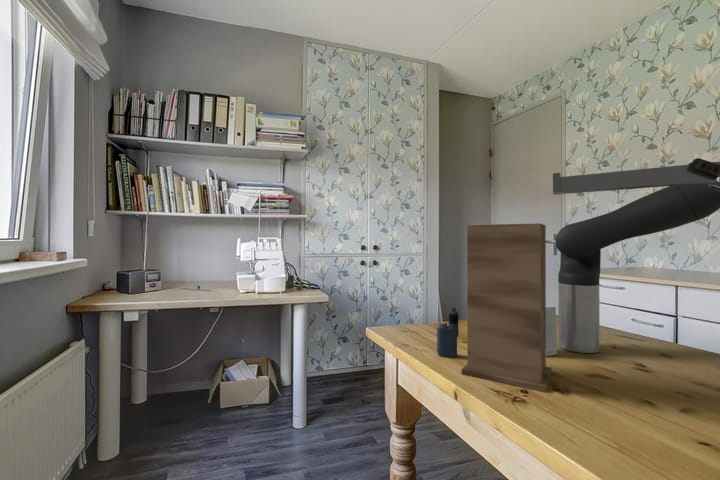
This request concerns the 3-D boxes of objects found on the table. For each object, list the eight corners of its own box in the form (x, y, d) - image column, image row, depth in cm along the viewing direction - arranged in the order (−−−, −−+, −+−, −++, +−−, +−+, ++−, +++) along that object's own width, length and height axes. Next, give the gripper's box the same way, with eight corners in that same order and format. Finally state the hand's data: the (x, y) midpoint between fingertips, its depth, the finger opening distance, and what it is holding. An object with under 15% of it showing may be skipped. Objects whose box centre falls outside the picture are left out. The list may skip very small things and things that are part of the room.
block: (554, 194, 71) (554, 176, 71) (727, 182, 57) (726, 159, 57) (553, 192, 67) (552, 173, 67) (735, 178, 54) (735, 154, 54)
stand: (476, 358, 83) (476, 227, 83) (551, 372, 74) (551, 225, 75) (461, 374, 73) (461, 225, 73) (545, 392, 64) (545, 223, 65)
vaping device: (459, 358, 83) (459, 309, 83) (437, 356, 84) (437, 308, 85) (458, 354, 86) (458, 307, 86) (437, 353, 87) (436, 306, 87)
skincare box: (558, 354, 86) (557, 306, 86) (544, 356, 84) (544, 307, 84) (537, 347, 92) (537, 302, 92) (524, 349, 90) (524, 303, 90)
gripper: (821, 194, 54) (692, 153, 63) (885, 181, 43) (716, 134, 51) (786, 235, 56) (665, 190, 65) (838, 233, 45) (683, 179, 53)
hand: (689, 166), depth 58 cm, fingers closed on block, 3 cm apart
